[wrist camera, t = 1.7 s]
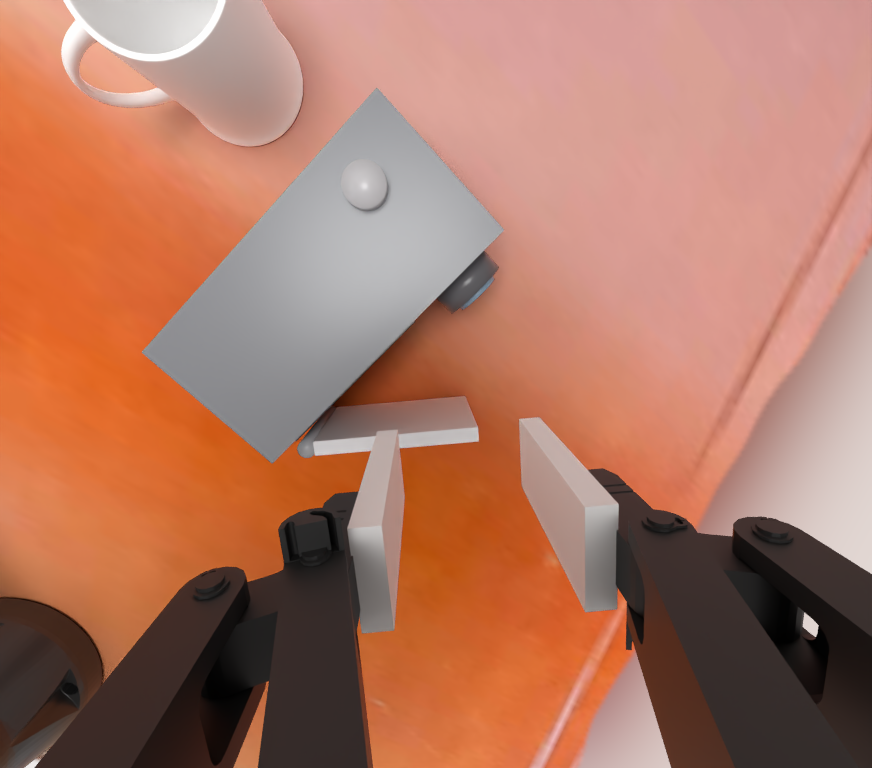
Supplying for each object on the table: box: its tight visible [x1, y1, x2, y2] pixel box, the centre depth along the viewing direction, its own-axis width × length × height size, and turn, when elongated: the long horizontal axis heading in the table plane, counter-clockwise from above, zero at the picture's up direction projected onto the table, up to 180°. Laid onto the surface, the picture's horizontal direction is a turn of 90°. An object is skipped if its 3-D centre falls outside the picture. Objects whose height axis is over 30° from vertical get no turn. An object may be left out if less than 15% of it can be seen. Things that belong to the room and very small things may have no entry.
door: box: [297, 396, 479, 458], centre depth 33 cm, size 12×2×8 cm, turn 95°
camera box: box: [142, 88, 504, 463], centre depth 29 cm, size 20×12×11 cm, turn 135°
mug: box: [61, 0, 303, 147], centre depth 25 cm, size 12×8×12 cm
